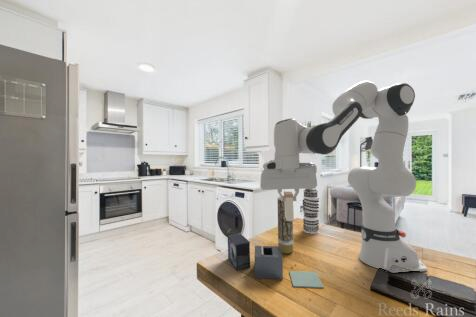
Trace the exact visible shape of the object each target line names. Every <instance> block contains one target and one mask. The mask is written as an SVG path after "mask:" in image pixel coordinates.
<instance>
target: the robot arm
mask: <svg viewBox="0 0 476 317" xmlns="http://www.w3.org/2000/svg"><path fill="white" fill-rule="evenodd" d="M415 98H416V94H415V90H414V88H413V86H412V85H410V84H408V83H406V82H400V83H395V84H392V85H389V86H386V87H382V88H380V89H378V87H377V85H376V84H375V83H374V82H372V81H369V80H363V81H360V82H357V83H356V84H354V85H352V86H350V87H349V88H347V89H346V90H345V91H344V92H341V94H340V95H339V96H338V97H336V99H334V101H333V103H332V107H331V108H332V113H333V115H334V117H332V118H331V120H329V121H328V122H324V123H320V124H317V125H313V126H305V125H303V124H301V123H300V122H298V120H297V119H296V118H286V119H284V120H283V119H282V120H280V121H277V122H276V123H275V125H274V129H273V145H274V149H275V151H274V159H272V160H271V159H270V160H269V161H267V162H265V163H263V164H262V169H263V170H262V171H261V175H260V184H259V185H260V189H261V190H263V191H265V190H266V191H267V190H269V191H271V190H277V193H278V195H279V196H281V201H285V196H284V195H283V194H282V192H283V190H294V194H293V202H297V197H298V195H299V193H300V190H302V189H303V190H305V189H309V188H315V189H316V188H317V187H318V180H317V172H318V169H317V165H316V164H314V163H313V162H301V161H300V153H301V154H317V155H319V154H320V155H328V154H331V153H333V152H334V151H335V150H336V149H337V147H338V145H339V143H340V141H341V140H342V137H343V136H344V135H345V134H346V133H347V131H349V130H350V128H352V127H353V125H354V124H355V123H356V122H357V121H358V120H359V119H360V118H361V119H365V120H368V119H374V118H378V124H377V127H376V129H375V133H374V136H373V139H372V142H371V148H370V153H371V155H372V156H373V157H374V158H376V159H377V160H378V164H377V166H359V167H355V168H352V169H350V171H349V172H348V175H347V182H348V184H349V186H350V187H351V188H352V189H353V190H354V192H355V193H356V195H357V197H358V199H359V201H360V205H361V209H362V210H361V211H362V212H361V213H362V224H361V231H360V233H361V247H360V251H359V253H358V259H359V260H360V261H361V262H362V263H364V264H366V265H368V266H370V267H372V268H375V269H379V268H382V269H387V270H388V269H389V268H390V267H391V266H392V265H396V266H401V267H404V268H408V269H411V270H415V271H420V272H427V270H428V268H427V266H426V264H424V263H423V262H422V261H421V260H420V259H419V256H418V253H417V251H416V249H414V247H412V246H410V245H409V244H408V243H407V242H406V241H404V240H403V239H402V238H406V237H407V233H406V232H404V231H403V230H399V229H396V212H395V209H394V208H393V207H392V205H390V204H389V203H388V202H387V201H386V200H385V198H384V197H383V196H388V197H395V198H396V197H397V198H398V197H404V198H405V197H409V196H410V195H412V194H413V193H414V191H415V190H416V187H417V180H416V177H415V175H414V174H413V173H412V172H411V171H409V169H408V168H407V167H406V165H405V163H404V150H405V146H406V142H407V138H408V134H409V133H408V132H409V116H408V115H407V114H408V113H409V112H410V111H411V108H412V107H413V104H414V102H415ZM401 237H402V238H401ZM382 269H381V270H382Z"/></svg>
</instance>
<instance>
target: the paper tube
mask: <svg viewBox="0 0 476 317" xmlns="http://www.w3.org/2000/svg"><path fill="white" fill-rule="evenodd" d="M277 242H278V244H277V245H278V246H280V249H281V253H282V254H285V255H289V254H291V253H293V252H294V221H286V218H285V205H284V201H281V196H280V195H279V196H277Z"/></svg>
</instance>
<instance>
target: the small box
mask: <svg viewBox="0 0 476 317" xmlns="http://www.w3.org/2000/svg"><path fill="white" fill-rule="evenodd" d="M250 244H251V242H250V241H249V240H248V239H247V238H246V237H245V236H244V235H243V234H242V233H241V232H239V233H235V234H229V235H227V257H228V258H227V259H228V261H229V262H230V263H231V265H232V266H233V267H234V269H235V270H236V271H237V272H238V271H241V270H247V269H249V268H251V249H250V248H251V247H250V246H251V245H250Z"/></svg>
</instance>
